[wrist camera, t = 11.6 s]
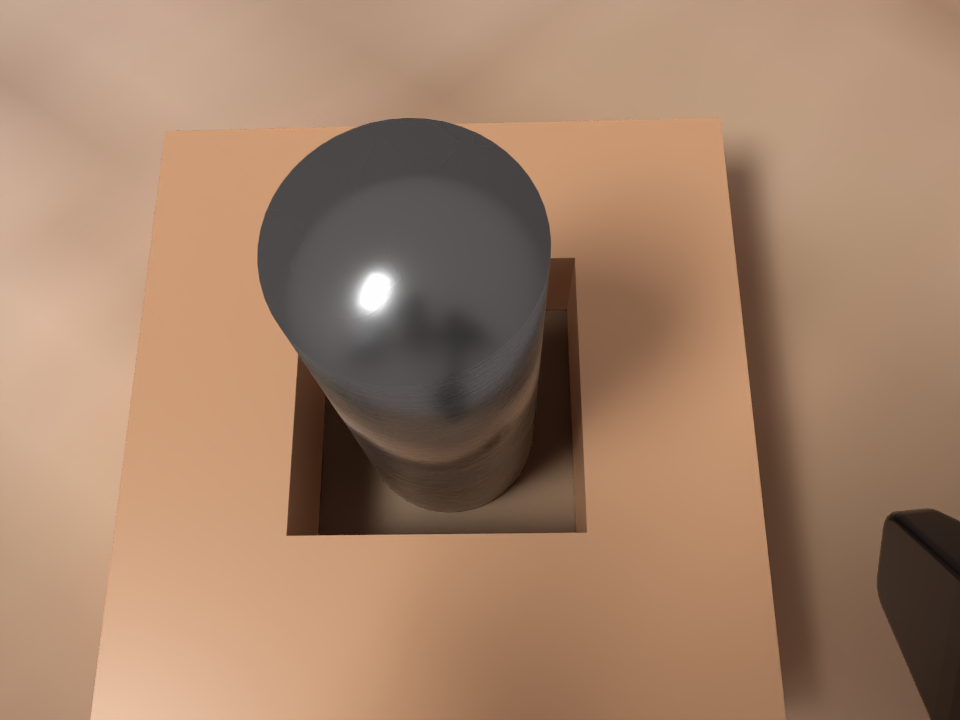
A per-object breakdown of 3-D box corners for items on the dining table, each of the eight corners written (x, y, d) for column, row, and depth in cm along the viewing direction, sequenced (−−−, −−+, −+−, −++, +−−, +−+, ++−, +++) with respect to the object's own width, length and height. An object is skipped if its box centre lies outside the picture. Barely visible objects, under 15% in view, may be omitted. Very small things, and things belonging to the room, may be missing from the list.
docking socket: (746, 714, 19) (787, 722, 16) (150, 717, 20) (89, 725, 17) (695, 184, 24) (720, 117, 21) (206, 194, 24) (165, 130, 21)
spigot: (535, 511, 21) (555, 382, 11) (365, 513, 21) (246, 387, 12) (531, 350, 22) (546, 115, 13) (371, 352, 22) (268, 121, 13)
